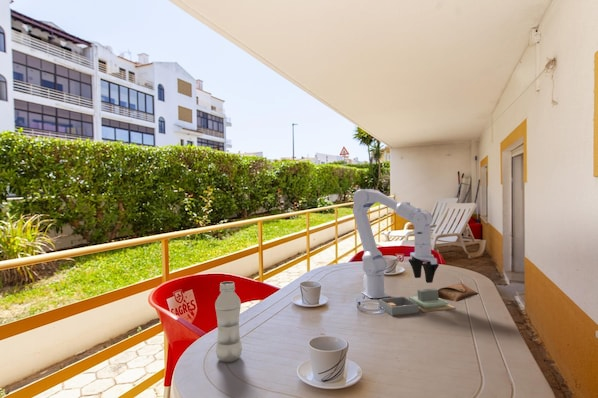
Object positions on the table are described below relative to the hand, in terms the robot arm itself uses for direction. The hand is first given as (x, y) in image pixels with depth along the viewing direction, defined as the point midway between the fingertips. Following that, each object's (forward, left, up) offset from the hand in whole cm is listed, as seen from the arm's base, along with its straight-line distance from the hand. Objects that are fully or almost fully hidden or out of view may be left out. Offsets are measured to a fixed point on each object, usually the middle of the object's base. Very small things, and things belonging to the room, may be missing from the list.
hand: (423, 280), depth 131 cm
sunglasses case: (-7, +20, -10) cm, 23 cm away
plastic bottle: (+24, -72, -10) cm, 76 cm away
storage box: (+2, -12, -9) cm, 15 cm away
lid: (0, +2, -9) cm, 9 cm away
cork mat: (0, +2, -9) cm, 9 cm away
